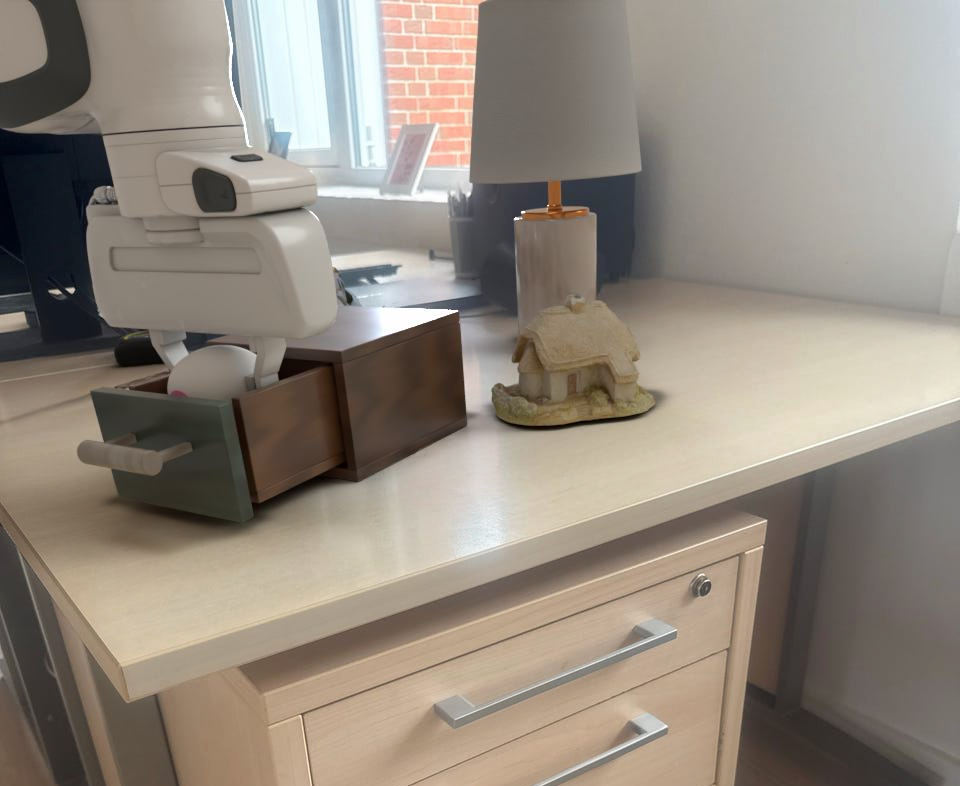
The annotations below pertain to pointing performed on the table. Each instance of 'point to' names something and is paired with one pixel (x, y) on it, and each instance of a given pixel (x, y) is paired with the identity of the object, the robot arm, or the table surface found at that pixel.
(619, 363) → the ceramic model
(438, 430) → the cabinet
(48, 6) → the robot arm
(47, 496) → the table surface
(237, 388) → the stress ball
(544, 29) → the lamp
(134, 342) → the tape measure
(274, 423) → the drawer
